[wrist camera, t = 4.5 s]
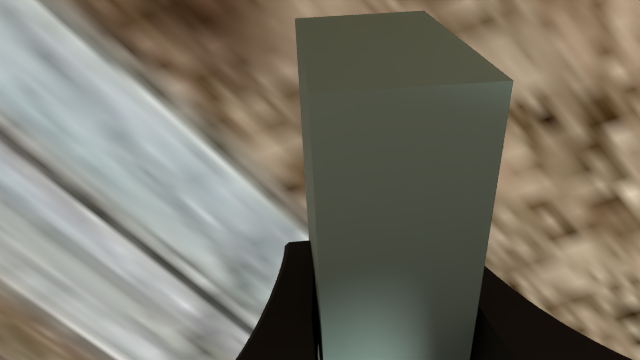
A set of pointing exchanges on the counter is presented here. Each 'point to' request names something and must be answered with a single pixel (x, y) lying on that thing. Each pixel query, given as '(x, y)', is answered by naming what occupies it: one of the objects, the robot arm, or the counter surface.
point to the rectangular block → (397, 182)
